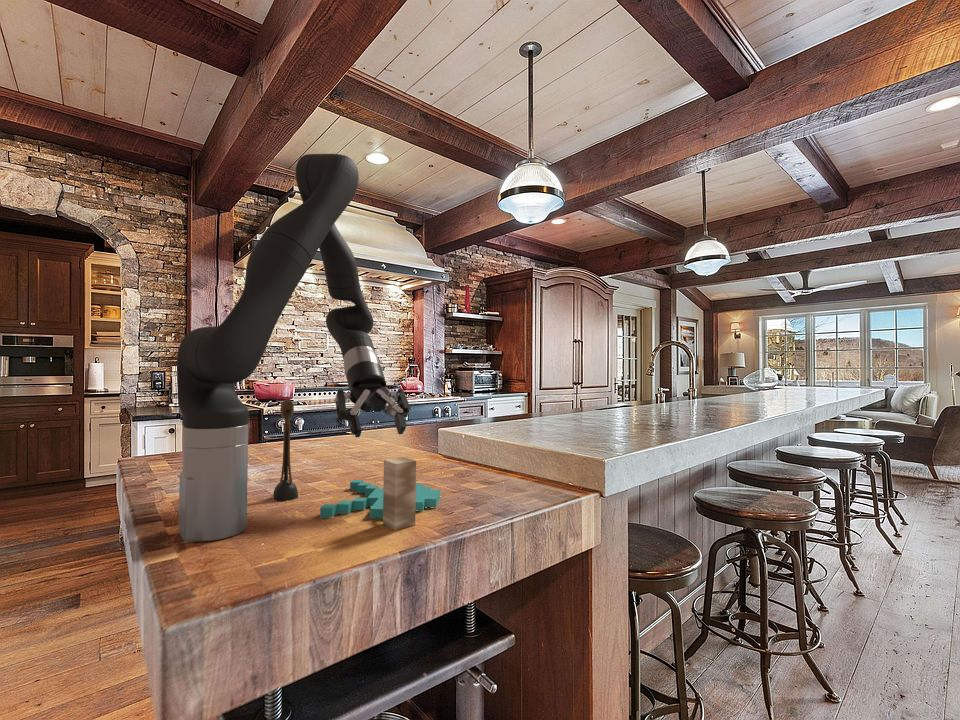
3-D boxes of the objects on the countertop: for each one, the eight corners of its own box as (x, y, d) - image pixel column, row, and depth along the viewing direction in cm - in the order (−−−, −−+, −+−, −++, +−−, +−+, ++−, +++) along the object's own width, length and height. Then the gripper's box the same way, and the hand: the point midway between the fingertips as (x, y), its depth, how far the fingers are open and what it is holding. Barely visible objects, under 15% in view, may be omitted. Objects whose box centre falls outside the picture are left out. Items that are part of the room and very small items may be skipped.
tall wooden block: (394, 530, 77) (395, 463, 77) (375, 520, 82) (376, 457, 82) (415, 525, 79) (416, 460, 79) (395, 515, 84) (396, 454, 84)
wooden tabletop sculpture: (298, 501, 92) (300, 400, 92) (272, 503, 90) (274, 401, 90) (297, 493, 97) (298, 398, 98) (273, 495, 96) (274, 398, 96)
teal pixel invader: (319, 520, 82) (431, 522, 82) (320, 507, 83) (431, 509, 82) (353, 489, 102) (443, 491, 102) (353, 479, 103) (443, 481, 102)
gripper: (333, 359, 93) (347, 423, 83) (400, 360, 100) (421, 419, 90) (326, 384, 97) (339, 448, 87) (391, 383, 104) (410, 442, 94)
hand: (380, 433), depth 89 cm, fingers open, 8 cm apart
